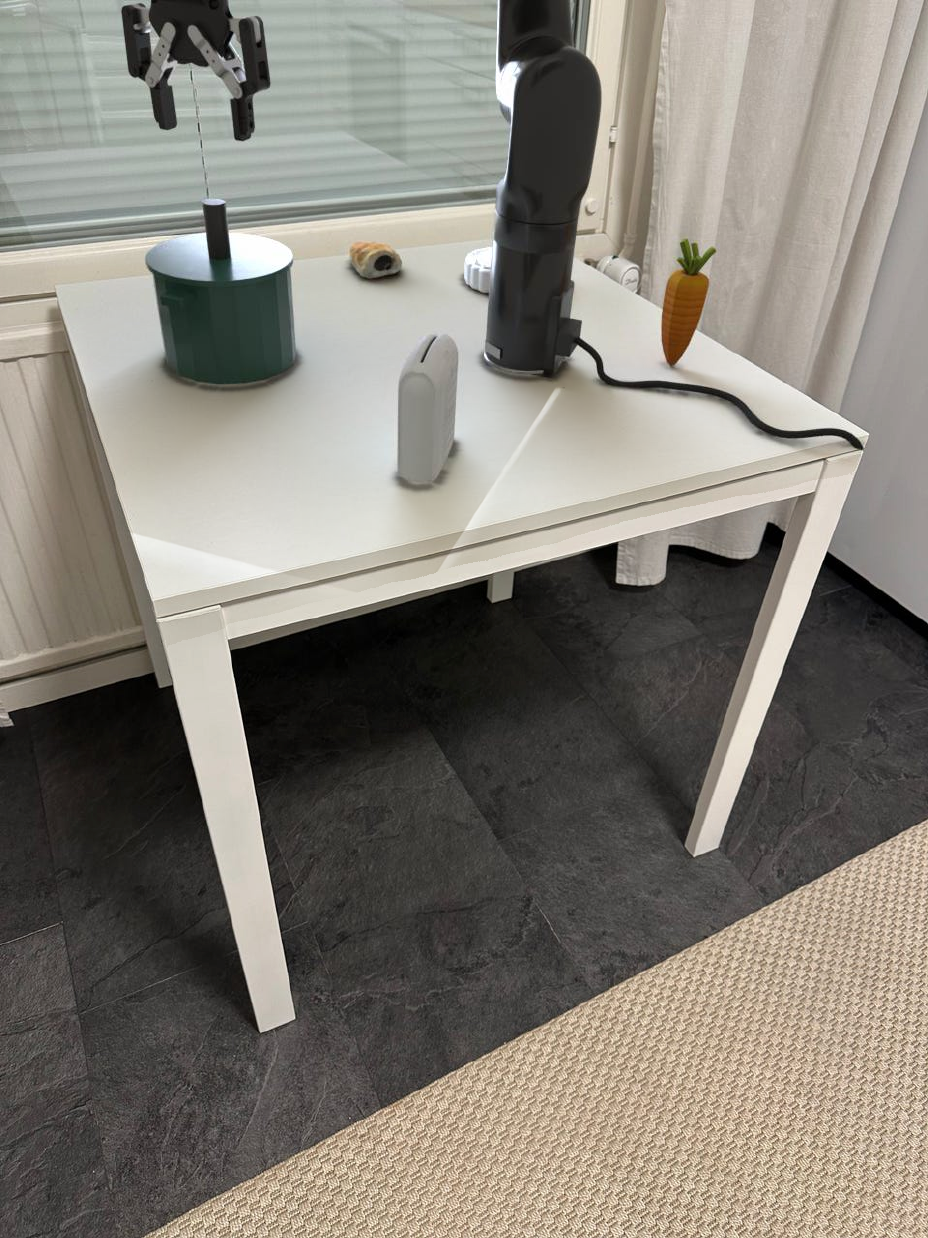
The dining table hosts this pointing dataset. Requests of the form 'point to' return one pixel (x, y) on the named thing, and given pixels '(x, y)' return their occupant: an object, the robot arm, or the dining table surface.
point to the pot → (227, 330)
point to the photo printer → (427, 407)
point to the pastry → (374, 259)
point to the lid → (218, 255)
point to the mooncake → (478, 269)
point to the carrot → (684, 302)
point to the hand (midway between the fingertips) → (205, 133)
